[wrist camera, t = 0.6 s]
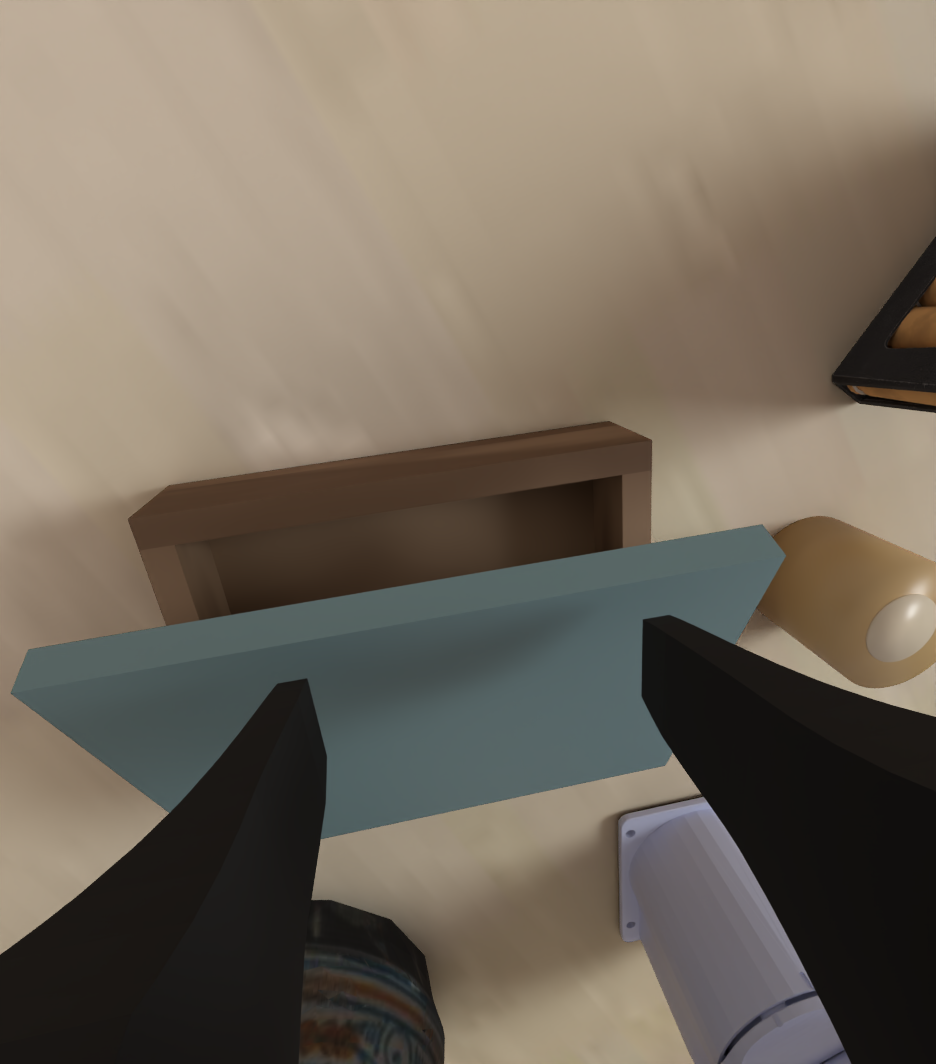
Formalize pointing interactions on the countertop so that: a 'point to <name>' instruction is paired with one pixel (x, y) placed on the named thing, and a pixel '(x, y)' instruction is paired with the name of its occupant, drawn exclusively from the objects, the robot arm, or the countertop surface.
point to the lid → (413, 679)
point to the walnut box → (393, 519)
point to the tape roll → (855, 601)
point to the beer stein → (365, 992)
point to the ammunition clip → (898, 347)
